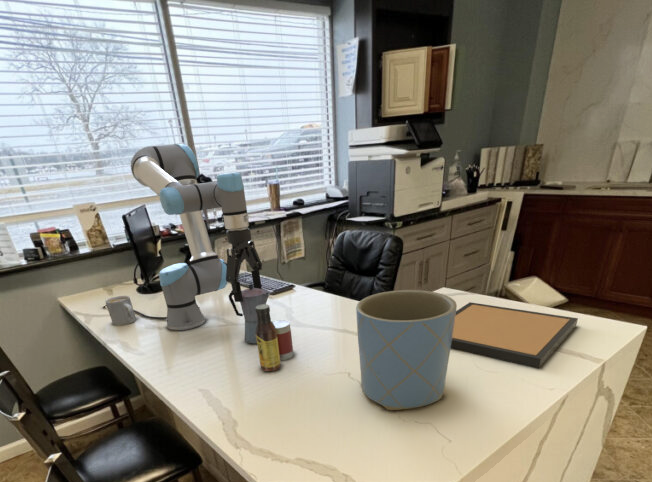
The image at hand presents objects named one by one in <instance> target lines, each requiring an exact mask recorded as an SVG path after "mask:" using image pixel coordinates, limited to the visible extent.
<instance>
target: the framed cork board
mask: <svg viewBox="0 0 652 482" xmlns="http://www.w3.org/2000/svg"><path fill="white" fill-rule="evenodd" d="M578 320H579V318H578V317H573V316H572V317H571V316H566V315H565V316H564V315H559V314H551V313H544V312H537V311H531V310H525V309H518V308H511V307H504V306H497V305H490V304H484V303H477V302H471V301H469V302H468V303H467V304H464V305H463V306H461V307H460V308H459V309H456V315H455V322H454V330H453V337H452V343H451V349H450V350H456V351H459V352H465V353H470V354H474V355H479V356H483V357H488V358H491V359H496V360H500V361H505V362H508V363H513V364H518V365H523V366H526V367H530V368H531V367H532V368H535V369H540V368H541V367H542V365H543V364H544V363H545V362H546V361H547V360H548V359H549V358H550V357H551V356H552V354H553V353H554V352H555V351H556V350H557V349H558V348H559V346H560V345H561V344H562V343H563V342H564V341H565V340H566V339H567V337H568V336H569V335H570V334H571V333H572V332H573V331H574V330H575V329H576V328H577V324H578Z"/></svg>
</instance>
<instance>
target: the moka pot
mask: <svg viewBox="0 0 652 482" xmlns="http://www.w3.org/2000/svg"><path fill="white" fill-rule="evenodd" d="M241 293H242V298H243V302H239V303H240V307H241V311H242V313H241V312H239V310H238V308H237V305H236V302H235V300H234V295H233V291H232V290H231V291H230V292H229V294H228V299H229V302H230V304H231V306H232V309H233V310H234V312H235V315H236V316H237V317H243V318H244V342H246V343H248V344H256V345H257V340H256V334H255V333H256V328H257V323H258V318H257V313H256V309H255V307H256V306H258V305H261V304H266V305H267V302H268V299H269V297H270V296H271V294H270V293H269V292H268V291H266V290H265V289H264V288H262V289H259V288H254V285H253V283H249V284H248V288H246V289H242V290H241Z"/></svg>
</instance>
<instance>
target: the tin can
mask: <svg viewBox="0 0 652 482" xmlns="http://www.w3.org/2000/svg"><path fill="white" fill-rule="evenodd" d="M271 322H272V323H273V324H274V325H275V328H276V334H277V339H278V347H279V355H280V361H286V360H290V359H292V358H293V356H294V346H293V337H292V336H293V335H292V329H291V322H290V321H289V320H285V319H281V320H279V319H278V320H273V321H271Z"/></svg>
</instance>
